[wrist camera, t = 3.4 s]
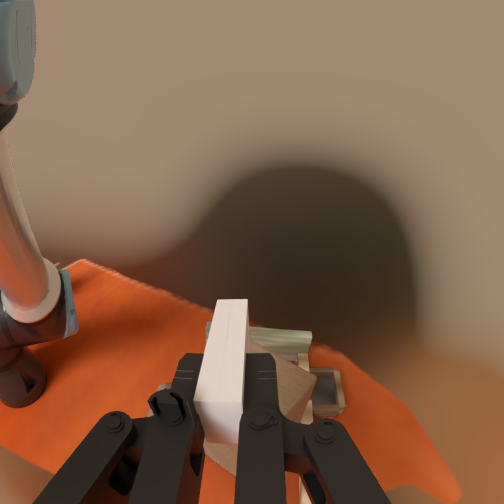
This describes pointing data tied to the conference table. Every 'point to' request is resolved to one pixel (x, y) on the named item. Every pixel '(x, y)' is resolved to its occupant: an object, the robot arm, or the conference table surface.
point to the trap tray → (296, 349)
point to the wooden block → (290, 403)
